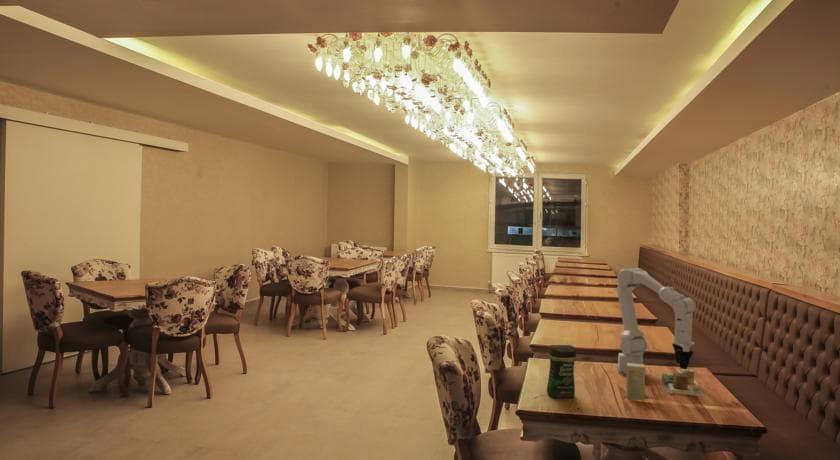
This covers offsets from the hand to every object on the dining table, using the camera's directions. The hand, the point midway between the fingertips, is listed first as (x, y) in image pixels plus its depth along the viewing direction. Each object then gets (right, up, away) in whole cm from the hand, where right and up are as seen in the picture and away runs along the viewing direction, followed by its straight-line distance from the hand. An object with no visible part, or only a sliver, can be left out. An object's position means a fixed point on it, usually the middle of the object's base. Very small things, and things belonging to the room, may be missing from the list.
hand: (681, 365), depth 206 cm
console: (-2, -8, +6) cm, 10 cm away
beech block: (+4, -9, +4) cm, 10 cm away
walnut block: (-2, -9, -2) cm, 9 cm away
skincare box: (-20, -10, -7) cm, 24 cm away
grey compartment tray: (0, -10, +1) cm, 10 cm away
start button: (-2, -8, +6) cm, 10 cm away
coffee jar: (-47, -10, -6) cm, 49 cm away
